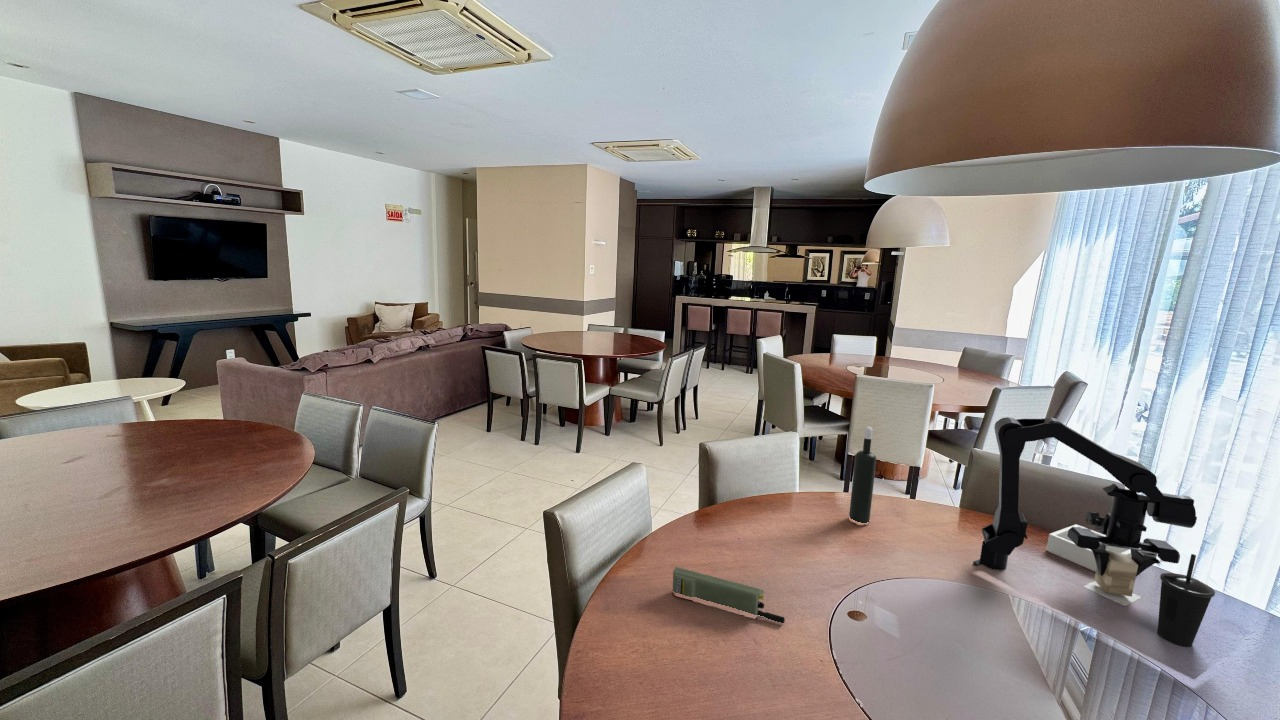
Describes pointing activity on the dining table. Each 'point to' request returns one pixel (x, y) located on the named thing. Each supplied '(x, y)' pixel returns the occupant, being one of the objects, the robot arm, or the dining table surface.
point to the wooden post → (1118, 574)
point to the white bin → (1077, 548)
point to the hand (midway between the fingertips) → (1114, 577)
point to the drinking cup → (1182, 606)
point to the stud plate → (1112, 594)
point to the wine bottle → (863, 481)
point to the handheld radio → (721, 592)
